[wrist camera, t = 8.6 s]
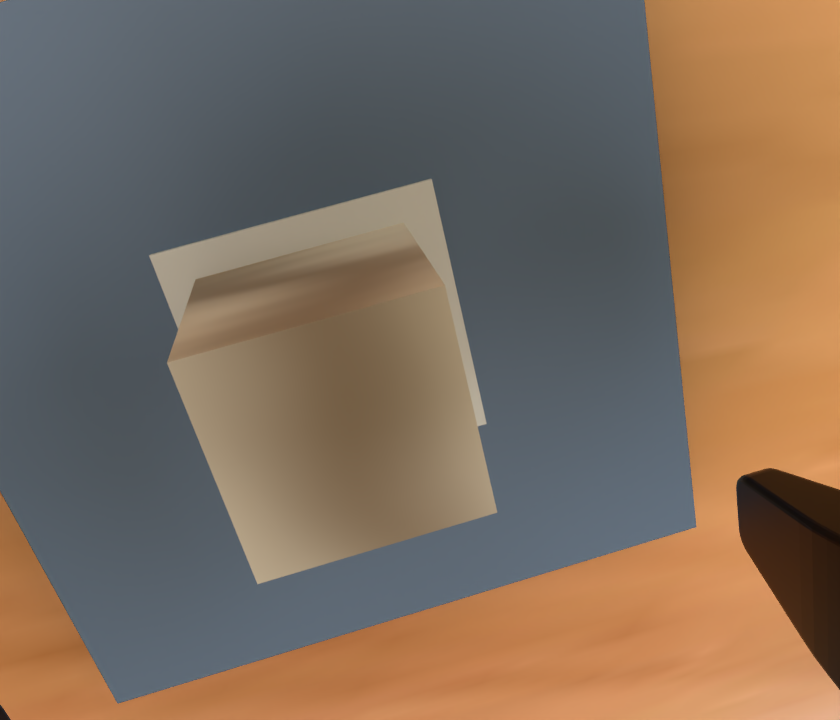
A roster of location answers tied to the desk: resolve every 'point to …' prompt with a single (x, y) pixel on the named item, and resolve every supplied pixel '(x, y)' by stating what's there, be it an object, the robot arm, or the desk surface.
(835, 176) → the desk surface
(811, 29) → the desk surface
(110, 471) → the board
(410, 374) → the off-white block
